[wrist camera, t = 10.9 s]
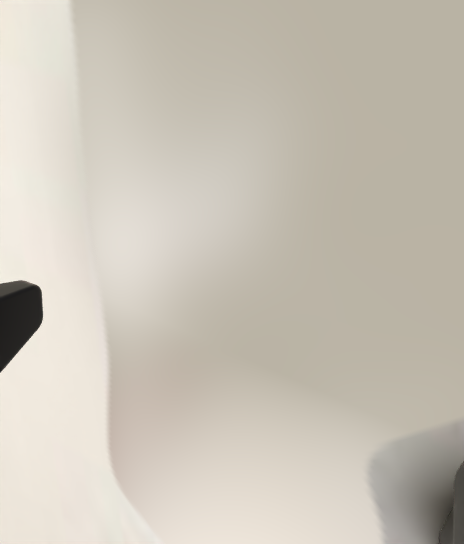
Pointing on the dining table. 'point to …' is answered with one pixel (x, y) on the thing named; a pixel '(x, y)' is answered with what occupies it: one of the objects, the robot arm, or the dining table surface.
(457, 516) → the robot arm
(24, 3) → the dining table surface
